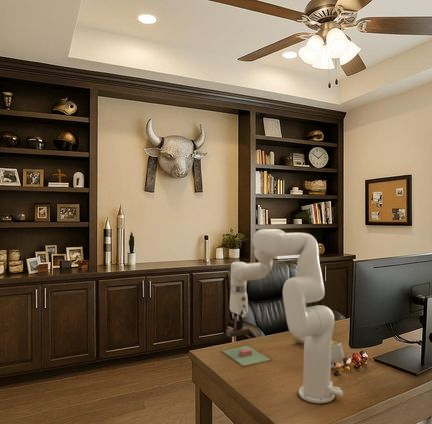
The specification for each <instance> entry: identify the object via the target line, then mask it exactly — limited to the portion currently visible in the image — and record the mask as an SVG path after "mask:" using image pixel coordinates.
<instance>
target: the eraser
mask: <svg viewBox="0 0 432 424" xmlns="http://www.w3.org/2000/svg"><path fill="white" fill-rule="evenodd" d="M239 355H240V356H242V357H245V356H250V355H252V350H250V349H244V350H239Z"/></svg>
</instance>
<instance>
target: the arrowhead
mask: <svg viewBox="0 0 432 424" xmlns="http://www.w3.org/2000/svg"><path fill="white" fill-rule="evenodd" d="M338 343H339V344H335V346H334V348H333V351H332V354H331V362H332V363H331V369H334V368H335V366H334V363H338V362H339V363H342V362H343V360H344V358H345V359H346V356H345V354H344V350H343V343H342V342H338ZM343 366H344V367H345V363H344V364H343V365H342V366H341V367H343ZM335 369H336V368H335Z"/></svg>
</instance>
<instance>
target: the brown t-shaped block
mask: <svg viewBox="0 0 432 424" xmlns="http://www.w3.org/2000/svg"><path fill="white" fill-rule="evenodd" d="M240 316H241V315H240ZM240 316H239V317H240ZM236 321H237V316H234V328H233V327H232V328H226V329H225V336H227V337H229V338H233V337H234V338H235V337H239V336H246V335H249V334H250V328H249V327H247V326H244V325H243V329H238V330H237V329H236Z"/></svg>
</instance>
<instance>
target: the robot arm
mask: <svg viewBox="0 0 432 424" xmlns="http://www.w3.org/2000/svg"><path fill="white" fill-rule="evenodd" d="M251 240H252V242H251V243H252V246H253V248H254V251H253V254H254V258H255V259H256V260H257V261H258V262H252V263H250V262H249V263H247V262H244V261H233V262H232V263H230V291H229V292H230V293H229V294H230V296H229V310H230V313H231V315H232V316H231V317H232V328H234V316H237V321H236V329H237V330H238V329H243V327H244V319H245V318H246V317H247V314H248V313H249V299H248V293H247V290H248V289H247V288H248V285H247V284H248V281H257V280H262V279H264V278H266V276H268V275H269V273H271V271H272V269H273V267H274V266H273V265H274V261H273V260H274V258H275V257H284V256H286V257H287V256H298V258H297V262H296V271H297V276H292V277H290V278H288V279H286V280H285V282H284V283H283V288H282V300H283V306H284V313H285V319H286V324H287V328H288V331H289V332H290V334H291V335H292V337H293V336H295V337H298V338H301V337H306V339H305V342H304V343H303V371H302V372H303V375H302V376H303V377H302V386H300V388H299V389H298V396H299V397H300V398H301V399H302V400H304V401H305V402H307V403H308V402H309V403H313V404H327V403H330V402H332V401H333V400H334V399H335V396H337V397H343V395H344V390H341V387H338V386H334V385H333V381H331V375H332V374H331V369H332V368H331V365H332V363H331V343H332V342H331V340H333V332H334V328H335V315H334V313H333V310H331V308H329V307H328V306H326V305H322V304H321V305H319V304H318V305H312V306H311V305H310V306H307V307H306V304H309V303H310V304H311V303H316V302H319V301H321V300H322V299H324V297H325V294H326V293H325V292H326V291H325V290H326V289H325V285H324V279H323V274H322V268H321V264H320V263H321V262H320V248H319V244H318V241H317V239H316V238H315V236H313V235H312V234H310V233H308V232H307V233H306V232H285V231H284V230H282V229H279V228H261V229H258V230H256V231H255V232H254V234H253V236H252V239H251ZM239 316H240V317H239Z"/></svg>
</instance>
